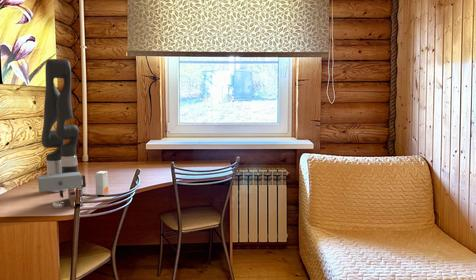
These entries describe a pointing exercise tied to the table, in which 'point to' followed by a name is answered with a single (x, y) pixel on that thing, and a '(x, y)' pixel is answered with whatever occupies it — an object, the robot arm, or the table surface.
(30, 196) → the table surface
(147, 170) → the table surface
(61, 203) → the silver rounded piece
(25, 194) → the table surface
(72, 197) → the copper bar
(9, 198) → the table surface
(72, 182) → the low cabinet
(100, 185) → the skincare box
